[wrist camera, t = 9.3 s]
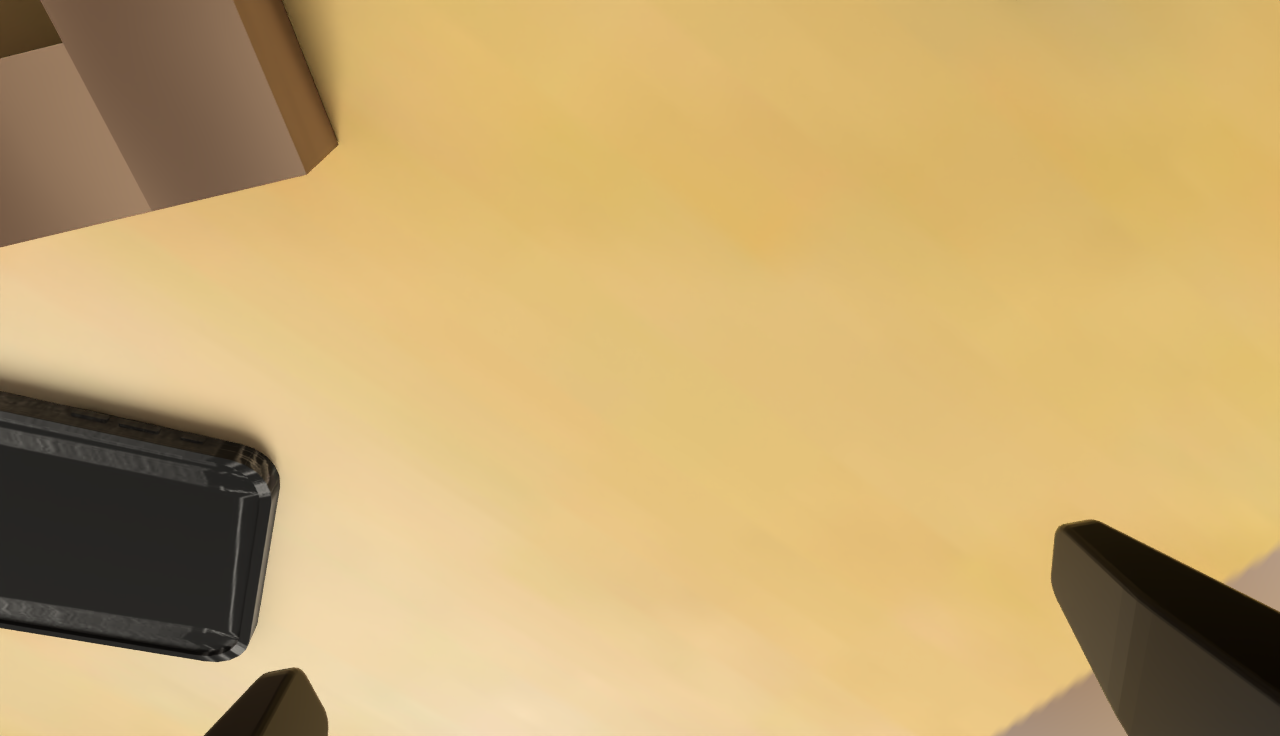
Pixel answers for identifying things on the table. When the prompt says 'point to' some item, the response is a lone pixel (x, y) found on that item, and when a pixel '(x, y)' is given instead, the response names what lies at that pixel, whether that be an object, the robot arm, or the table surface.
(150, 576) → the phone
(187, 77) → the walnut square frame
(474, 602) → the table surface
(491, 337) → the table surface
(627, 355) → the table surface
